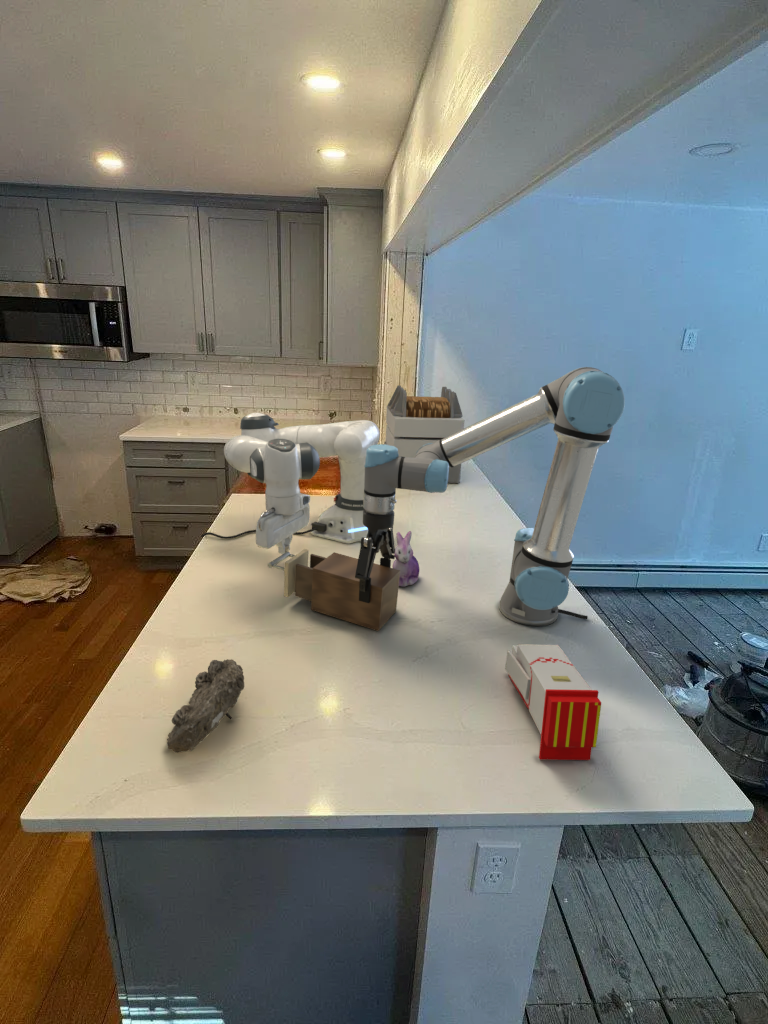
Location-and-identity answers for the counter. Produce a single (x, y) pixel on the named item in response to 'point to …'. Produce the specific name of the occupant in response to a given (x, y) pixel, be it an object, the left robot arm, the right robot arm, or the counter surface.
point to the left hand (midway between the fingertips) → (284, 551)
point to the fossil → (206, 705)
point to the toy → (556, 700)
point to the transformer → (422, 423)
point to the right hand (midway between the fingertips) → (374, 591)
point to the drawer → (297, 573)
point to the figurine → (405, 560)
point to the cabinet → (354, 592)
